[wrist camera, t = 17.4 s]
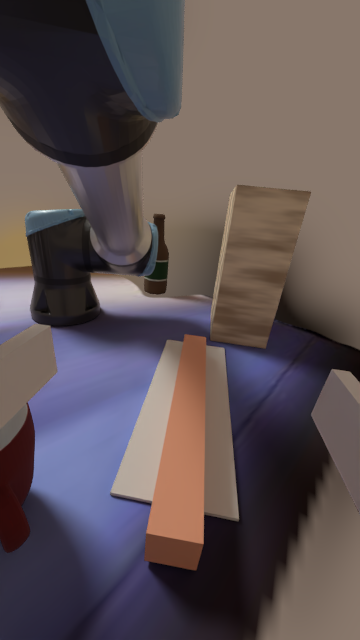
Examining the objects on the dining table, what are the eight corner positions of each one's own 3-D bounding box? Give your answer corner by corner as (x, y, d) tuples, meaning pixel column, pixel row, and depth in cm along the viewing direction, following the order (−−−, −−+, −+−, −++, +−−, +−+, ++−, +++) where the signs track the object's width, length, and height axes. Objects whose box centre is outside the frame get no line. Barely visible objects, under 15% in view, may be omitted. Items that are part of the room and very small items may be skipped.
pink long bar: (182, 352, 45) (184, 334, 43) (203, 355, 45) (206, 337, 43) (144, 560, 18) (146, 533, 16) (196, 570, 18) (203, 544, 16)
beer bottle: (170, 290, 81) (176, 215, 71) (159, 296, 75) (164, 214, 65) (151, 286, 84) (155, 213, 74) (139, 291, 77) (141, 212, 67)
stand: (210, 310, 68) (230, 194, 55) (252, 316, 67) (281, 199, 54) (210, 340, 51) (237, 184, 39) (265, 348, 50) (311, 191, 38)
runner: (167, 341, 49) (167, 339, 49) (224, 349, 48) (224, 348, 48) (110, 494, 22) (110, 492, 22) (238, 521, 21) (239, 519, 21)
